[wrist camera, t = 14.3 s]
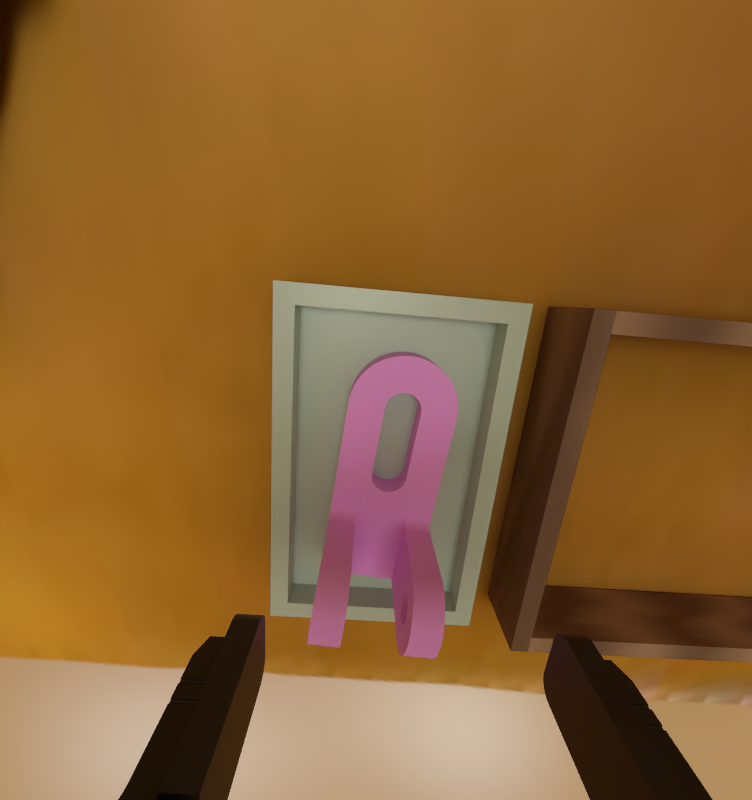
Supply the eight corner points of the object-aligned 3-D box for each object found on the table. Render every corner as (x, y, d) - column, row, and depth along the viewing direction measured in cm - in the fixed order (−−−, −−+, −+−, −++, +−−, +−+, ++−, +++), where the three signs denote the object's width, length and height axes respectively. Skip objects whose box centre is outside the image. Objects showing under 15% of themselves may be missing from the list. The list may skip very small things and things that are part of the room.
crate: (931, 341, 20) (1065, 351, 16) (794, 611, 25) (871, 668, 21) (548, 306, 19) (594, 308, 15) (488, 594, 24) (510, 650, 20)
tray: (512, 303, 19) (533, 303, 17) (459, 593, 24) (469, 625, 22) (285, 282, 18) (272, 280, 16) (280, 583, 24) (270, 615, 21)
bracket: (411, 565, 22) (430, 680, 16) (323, 552, 22) (303, 665, 15) (463, 362, 19) (515, 397, 12) (358, 343, 18) (352, 368, 12)
